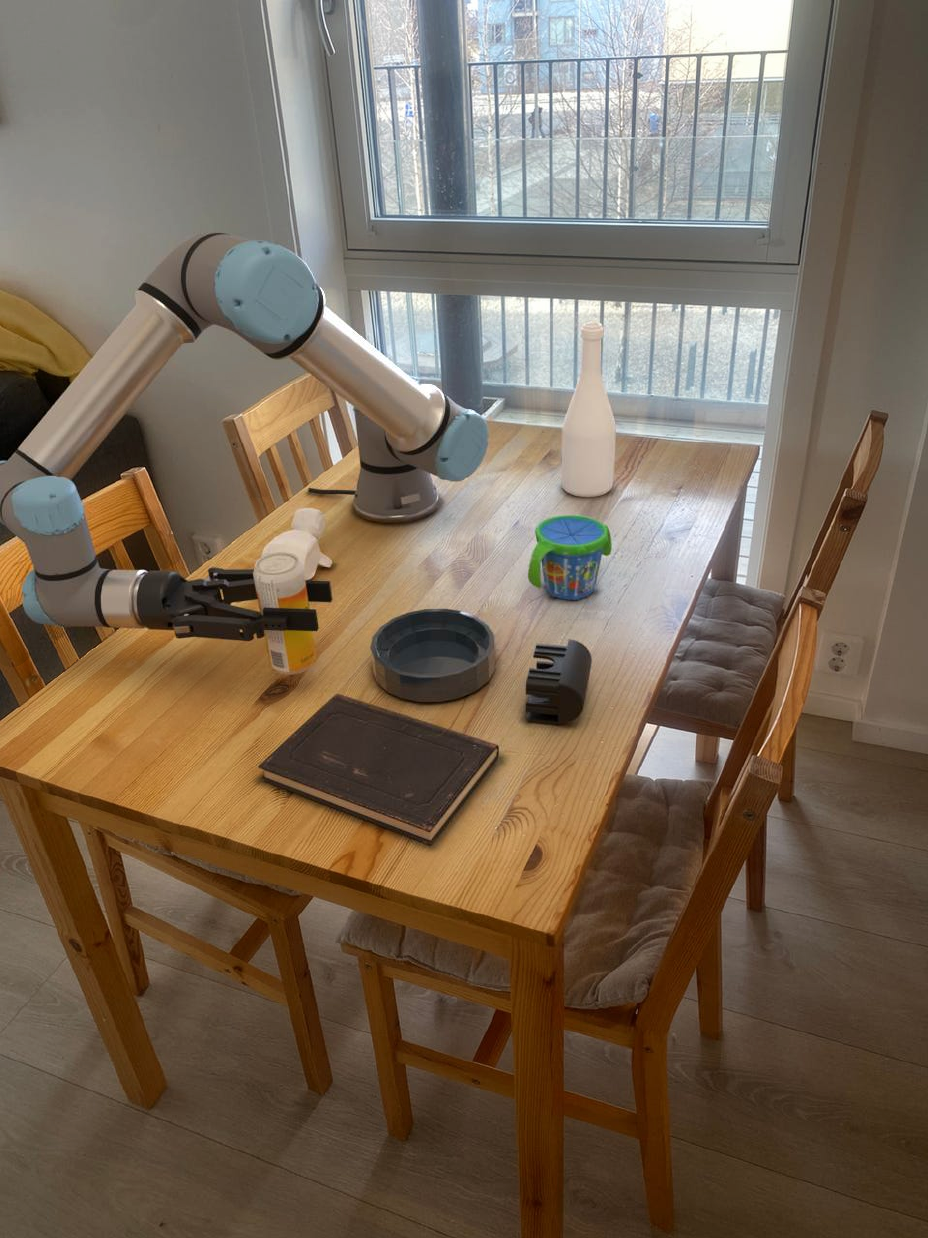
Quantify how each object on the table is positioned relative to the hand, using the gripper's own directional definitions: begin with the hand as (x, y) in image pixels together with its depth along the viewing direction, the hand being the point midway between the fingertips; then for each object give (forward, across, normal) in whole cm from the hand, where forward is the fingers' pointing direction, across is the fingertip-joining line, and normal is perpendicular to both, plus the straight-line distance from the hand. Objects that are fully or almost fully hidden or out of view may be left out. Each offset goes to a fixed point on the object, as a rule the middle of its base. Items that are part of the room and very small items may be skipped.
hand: (323, 605), depth 117 cm
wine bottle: (+31, -65, -14) cm, 74 cm away
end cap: (+29, 0, -14) cm, 32 cm away
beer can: (-5, 0, -9) cm, 11 cm away
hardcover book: (+9, +15, -13) cm, 22 cm away
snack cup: (+30, -28, -14) cm, 43 cm away
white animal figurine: (-14, -31, -14) cm, 37 cm away
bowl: (+12, -6, -13) cm, 19 cm away
